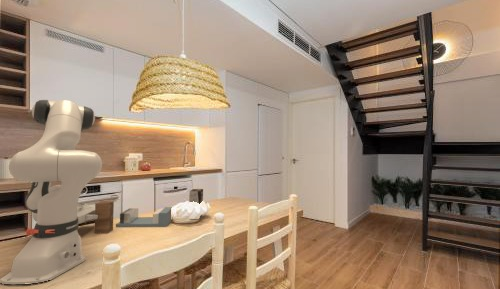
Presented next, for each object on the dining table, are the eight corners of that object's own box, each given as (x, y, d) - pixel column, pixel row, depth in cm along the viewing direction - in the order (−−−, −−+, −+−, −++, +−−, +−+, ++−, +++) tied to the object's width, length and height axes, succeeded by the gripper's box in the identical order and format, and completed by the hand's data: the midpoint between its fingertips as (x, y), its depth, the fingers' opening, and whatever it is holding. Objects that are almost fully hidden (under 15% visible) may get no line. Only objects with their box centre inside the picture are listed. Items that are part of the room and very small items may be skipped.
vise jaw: (129, 223, 126) (130, 213, 127) (119, 223, 126) (120, 213, 126) (138, 217, 137) (138, 208, 138) (128, 217, 137) (129, 208, 137)
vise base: (166, 226, 127) (166, 213, 127) (115, 227, 125) (116, 213, 125) (172, 219, 140) (172, 207, 140) (126, 219, 138) (127, 207, 138)
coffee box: (199, 219, 140) (200, 191, 141) (188, 219, 141) (189, 191, 141) (203, 215, 150) (203, 188, 150) (192, 215, 150) (193, 188, 150)
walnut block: (107, 233, 116) (108, 203, 116) (94, 233, 116) (95, 203, 116) (112, 229, 121) (113, 201, 121) (100, 229, 121) (101, 201, 121)
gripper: (57, 213, 107) (91, 212, 108) (85, 203, 128) (113, 202, 129) (57, 227, 107) (90, 227, 108) (85, 215, 127) (113, 215, 128)
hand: (103, 214), depth 118 cm, fingers open, 8 cm apart
